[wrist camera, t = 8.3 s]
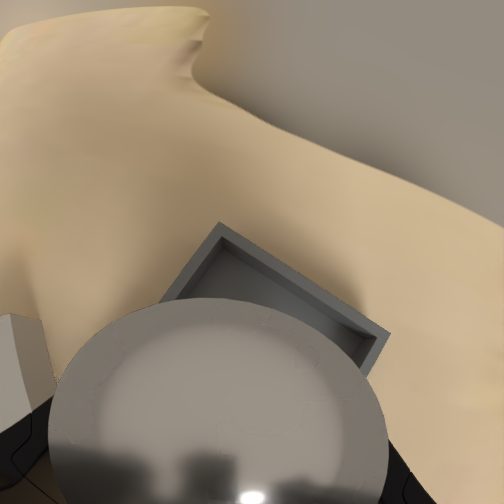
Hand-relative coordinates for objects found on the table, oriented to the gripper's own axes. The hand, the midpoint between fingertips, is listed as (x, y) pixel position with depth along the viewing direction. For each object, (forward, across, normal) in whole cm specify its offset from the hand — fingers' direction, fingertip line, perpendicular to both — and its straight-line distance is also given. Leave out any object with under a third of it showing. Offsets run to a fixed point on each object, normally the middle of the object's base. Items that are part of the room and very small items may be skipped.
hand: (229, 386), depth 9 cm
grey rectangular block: (+3, +14, +11) cm, 18 cm away
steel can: (+5, 0, +7) cm, 9 cm away
